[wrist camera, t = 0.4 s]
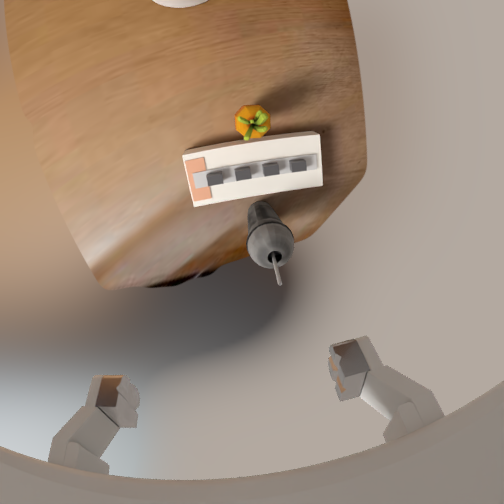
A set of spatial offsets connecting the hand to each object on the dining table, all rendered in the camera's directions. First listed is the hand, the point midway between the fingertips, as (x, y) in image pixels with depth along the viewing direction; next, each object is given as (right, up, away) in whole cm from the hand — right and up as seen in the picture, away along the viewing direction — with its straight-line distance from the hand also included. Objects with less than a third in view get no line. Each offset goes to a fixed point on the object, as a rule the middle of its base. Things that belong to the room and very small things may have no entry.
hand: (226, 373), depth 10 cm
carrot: (0, +27, +34) cm, 43 cm away
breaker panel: (+1, +20, +38) cm, 43 cm away
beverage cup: (+2, +12, +44) cm, 45 cm away
